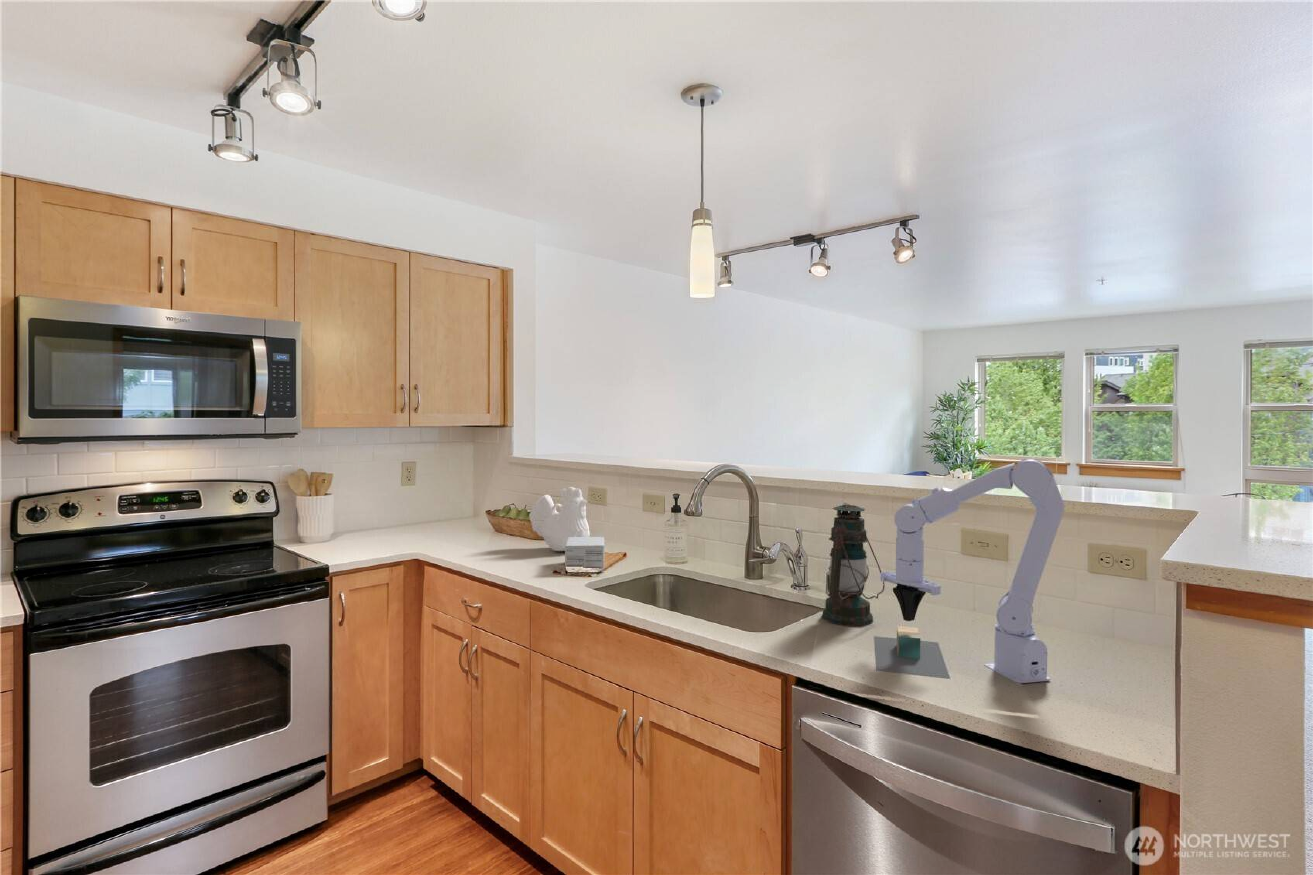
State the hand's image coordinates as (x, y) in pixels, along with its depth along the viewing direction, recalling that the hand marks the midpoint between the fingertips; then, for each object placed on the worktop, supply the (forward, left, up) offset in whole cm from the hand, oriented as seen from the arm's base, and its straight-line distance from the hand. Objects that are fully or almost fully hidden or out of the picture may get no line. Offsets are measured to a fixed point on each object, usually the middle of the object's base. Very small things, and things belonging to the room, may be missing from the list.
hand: (908, 619), depth 147 cm
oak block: (-3, +2, -5) cm, 6 cm away
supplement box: (+98, +60, -8) cm, 115 cm away
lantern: (+26, 0, -8) cm, 27 cm away
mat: (-2, +1, -8) cm, 8 cm away
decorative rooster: (+130, +66, -8) cm, 146 cm away
